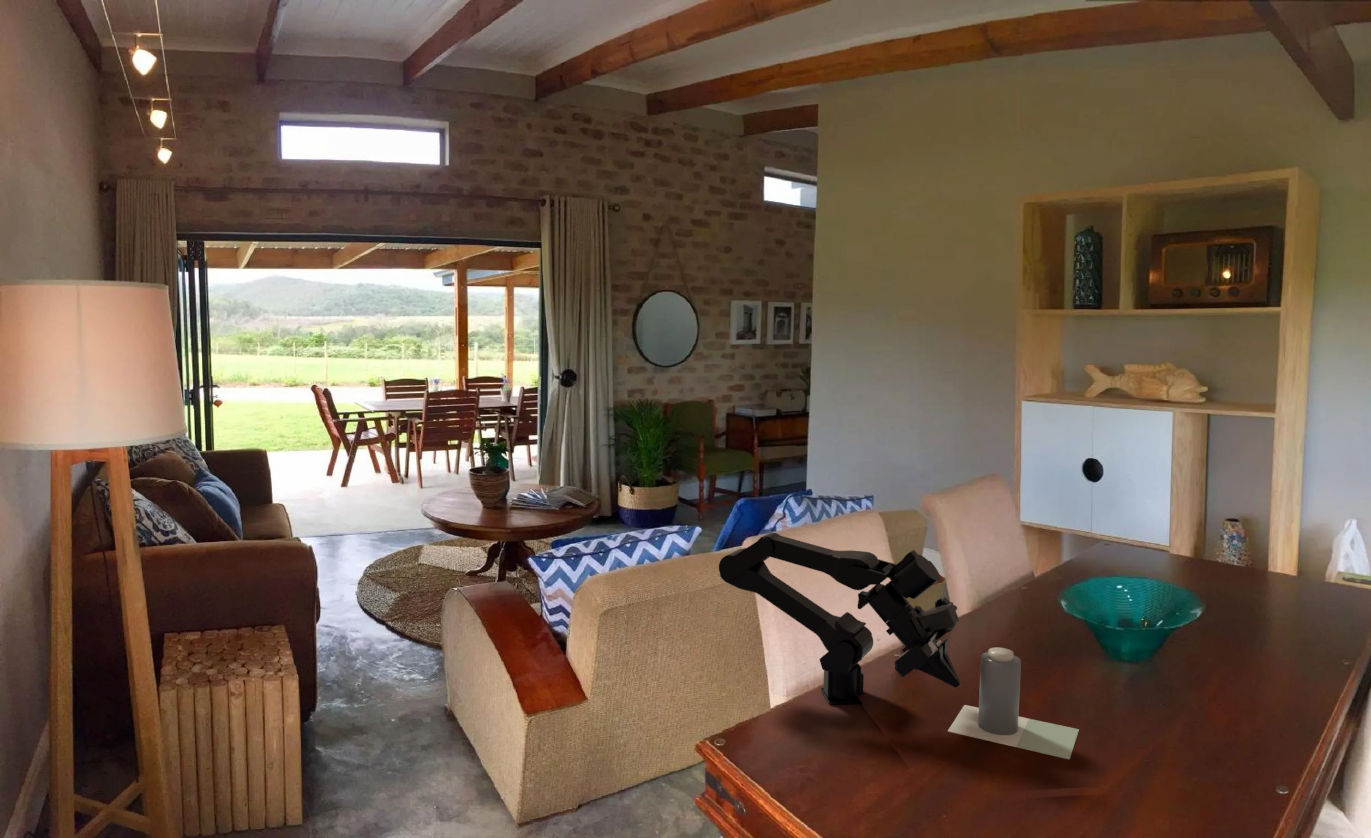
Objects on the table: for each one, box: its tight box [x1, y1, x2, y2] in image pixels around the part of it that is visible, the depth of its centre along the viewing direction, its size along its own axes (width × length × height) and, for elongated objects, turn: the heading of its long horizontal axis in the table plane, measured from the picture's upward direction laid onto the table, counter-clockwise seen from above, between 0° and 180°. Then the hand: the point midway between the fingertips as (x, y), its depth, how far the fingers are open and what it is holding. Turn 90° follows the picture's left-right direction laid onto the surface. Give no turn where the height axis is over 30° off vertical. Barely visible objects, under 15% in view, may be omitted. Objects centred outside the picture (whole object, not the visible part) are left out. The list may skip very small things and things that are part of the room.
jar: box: [978, 647, 1022, 735], centre depth 150 cm, size 6×6×13 cm
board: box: [947, 704, 1080, 760], centre depth 149 cm, size 19×12×1 cm, turn 59°
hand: (958, 685), depth 153 cm, fingers closed
